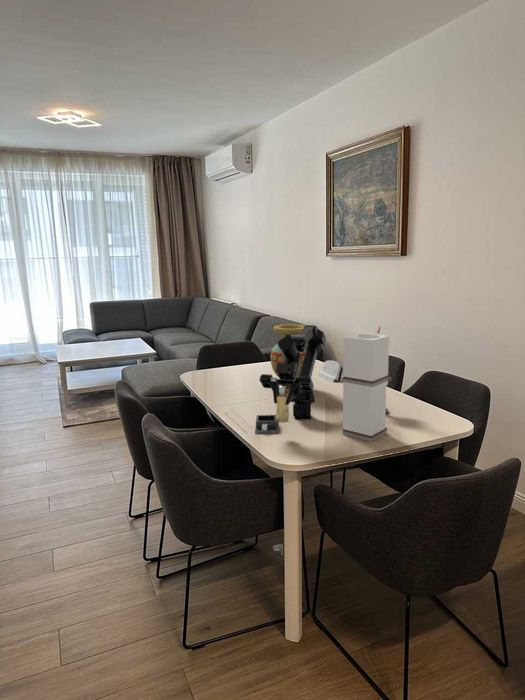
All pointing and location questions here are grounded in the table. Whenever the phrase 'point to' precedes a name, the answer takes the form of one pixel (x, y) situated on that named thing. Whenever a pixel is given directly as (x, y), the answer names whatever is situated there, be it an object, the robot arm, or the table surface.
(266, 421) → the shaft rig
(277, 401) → the gold perfume bottle
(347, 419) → the white banded pillar
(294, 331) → the vase
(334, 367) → the hinge
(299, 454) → the table surface
